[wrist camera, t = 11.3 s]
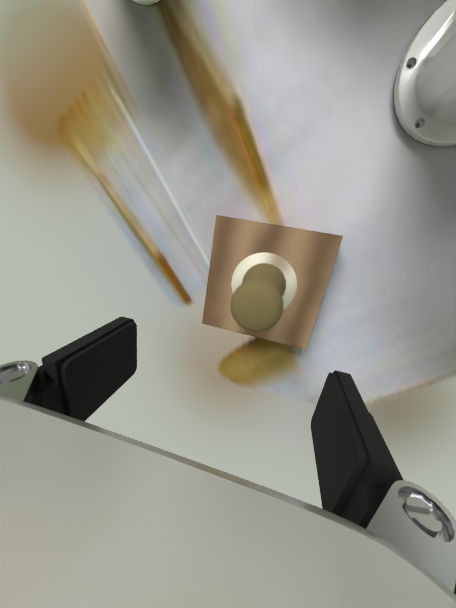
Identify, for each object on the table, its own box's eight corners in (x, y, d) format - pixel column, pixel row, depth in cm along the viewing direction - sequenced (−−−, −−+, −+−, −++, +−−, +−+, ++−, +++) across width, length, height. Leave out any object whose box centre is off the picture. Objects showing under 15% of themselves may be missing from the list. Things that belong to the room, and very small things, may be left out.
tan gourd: (274, 312, 31) (270, 351, 21) (235, 295, 31) (213, 324, 21) (294, 274, 29) (301, 296, 18) (252, 255, 29) (236, 268, 19)
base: (337, 235, 29) (343, 236, 26) (303, 340, 34) (305, 349, 32) (222, 216, 32) (216, 215, 29) (208, 316, 37) (202, 323, 34)
